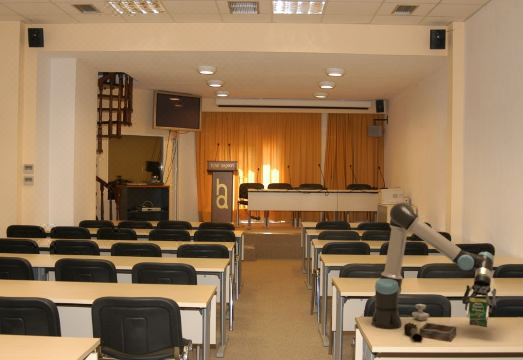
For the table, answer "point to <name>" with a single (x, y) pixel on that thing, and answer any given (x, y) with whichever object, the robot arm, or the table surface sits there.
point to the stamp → (420, 312)
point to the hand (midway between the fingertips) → (477, 317)
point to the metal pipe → (413, 332)
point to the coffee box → (478, 312)
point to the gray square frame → (438, 331)
